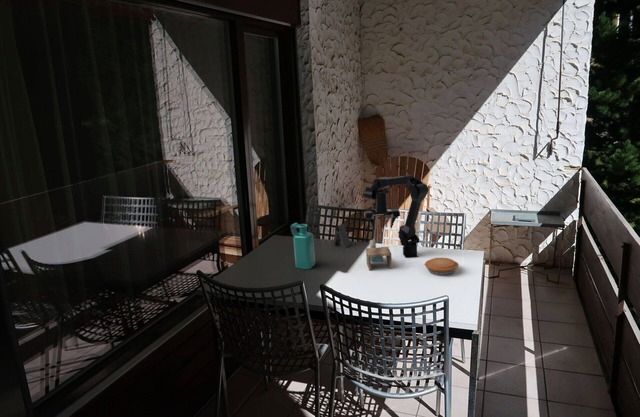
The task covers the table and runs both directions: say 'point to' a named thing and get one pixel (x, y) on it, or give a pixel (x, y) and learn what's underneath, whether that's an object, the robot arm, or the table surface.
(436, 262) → the pie
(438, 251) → the table surface
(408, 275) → the table surface
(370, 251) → the walnut shelf
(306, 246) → the teal bottle
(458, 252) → the table surface
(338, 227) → the phone stand
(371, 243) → the tethered block
